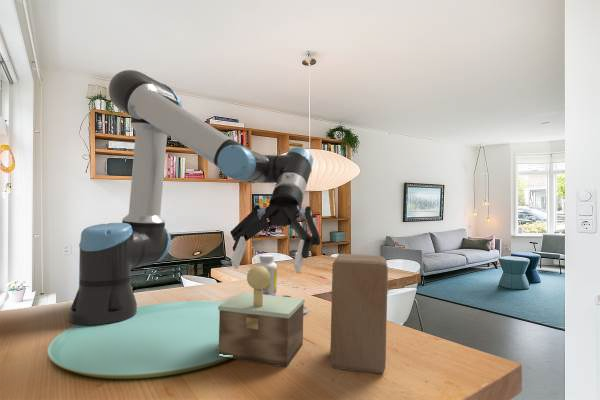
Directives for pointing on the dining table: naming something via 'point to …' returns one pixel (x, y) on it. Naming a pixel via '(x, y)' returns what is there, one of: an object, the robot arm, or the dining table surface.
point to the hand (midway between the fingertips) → (264, 267)
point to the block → (359, 313)
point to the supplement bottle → (272, 268)
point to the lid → (262, 298)
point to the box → (261, 337)
